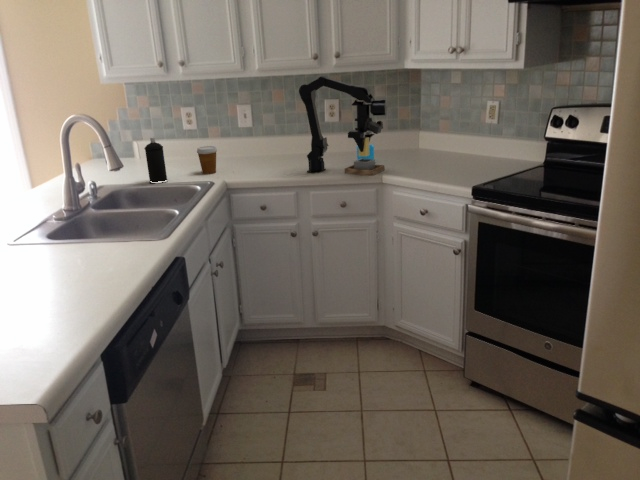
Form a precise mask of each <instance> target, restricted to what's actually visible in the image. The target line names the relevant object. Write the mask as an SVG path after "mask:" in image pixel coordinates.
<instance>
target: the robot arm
mask: <svg viewBox="0 0 640 480" xmlns="http://www.w3.org/2000/svg"><path fill="white" fill-rule="evenodd" d="M322 87H326V88H328V89H331V90H336V91H339V92H341V93H344V94H348V95H350V96H351V97H352V98H354V99H355V100H354V102H352V104H351V106H354V107H355V106H356V118H354V121H355V122H356V127H355V128H354V129H352V130H350V131H348V133H347V139H353V140H354V142H355V143H356V146H358V147H359V149H360V151H361V152H363V149H364V140H365V139H366V138H367V137H369V143H370V141H371V139H372V137H374V136H375V135H378V134H380V133H381V132H382V130H383V129H384V124H383V121H382V120H378V121H373V118H372V117H371V115H372V116H374V117H376V116H377V117H378V116H379V117H380V116H387V115H388V105H387V100H386V99H385V98H384V99H376V98H375V97H374V96H373V95H372V93H371V89H370V88H369V86H367V85H362V84H361V85H360V84H351V83H348V82H344V81H340V80H338V79H334V78H331V77H328V76H327V75H322V76H319V77H318V78H317V79H315V80H313V81H311V82H309V83H305V84H302V85H301V86H299V89H298V94H299V96H300V99H301V101H302V103H303V104H304V106H305V111H306V115H307V119H308V123H309V124H308V125H309V130H310V134H311V140H310V145H311V146H310V149H311V150H310V152H308V154H307V155H306V159H308V161H307V162H308V170H307V171H306V172H307V173H315V174H316V173H322V172H323V171H326V168H325V167H326V166H325V161H324V155H325V153H326V152H327V151H328V147H329V144H328V137H324V136H323V134H322V131H321V126H320V121H319V116H318V112H317V106H316V97H317V96H316V94H317V93H316V91H318V90H320V89H321V88H322Z"/></svg>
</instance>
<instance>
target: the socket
mask: <svg viewBox="0 0 640 480" xmlns="http://www.w3.org/2000/svg"><path fill="white" fill-rule="evenodd" d="M353 165H354V169H361V170H373V169H375V165H376V159H375V158H374V159H359V160H354V161H353Z"/></svg>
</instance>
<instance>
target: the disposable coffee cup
mask: <svg viewBox="0 0 640 480" xmlns="http://www.w3.org/2000/svg"><path fill="white" fill-rule="evenodd" d="M217 151H218V149H217V147H216V146H215V145H206V146H205V145H204V146H200V147H197V150H196V153H197V155H198V159H199V163H200V167H201V171H202V174H204V175H211V174H215V173H217Z"/></svg>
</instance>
